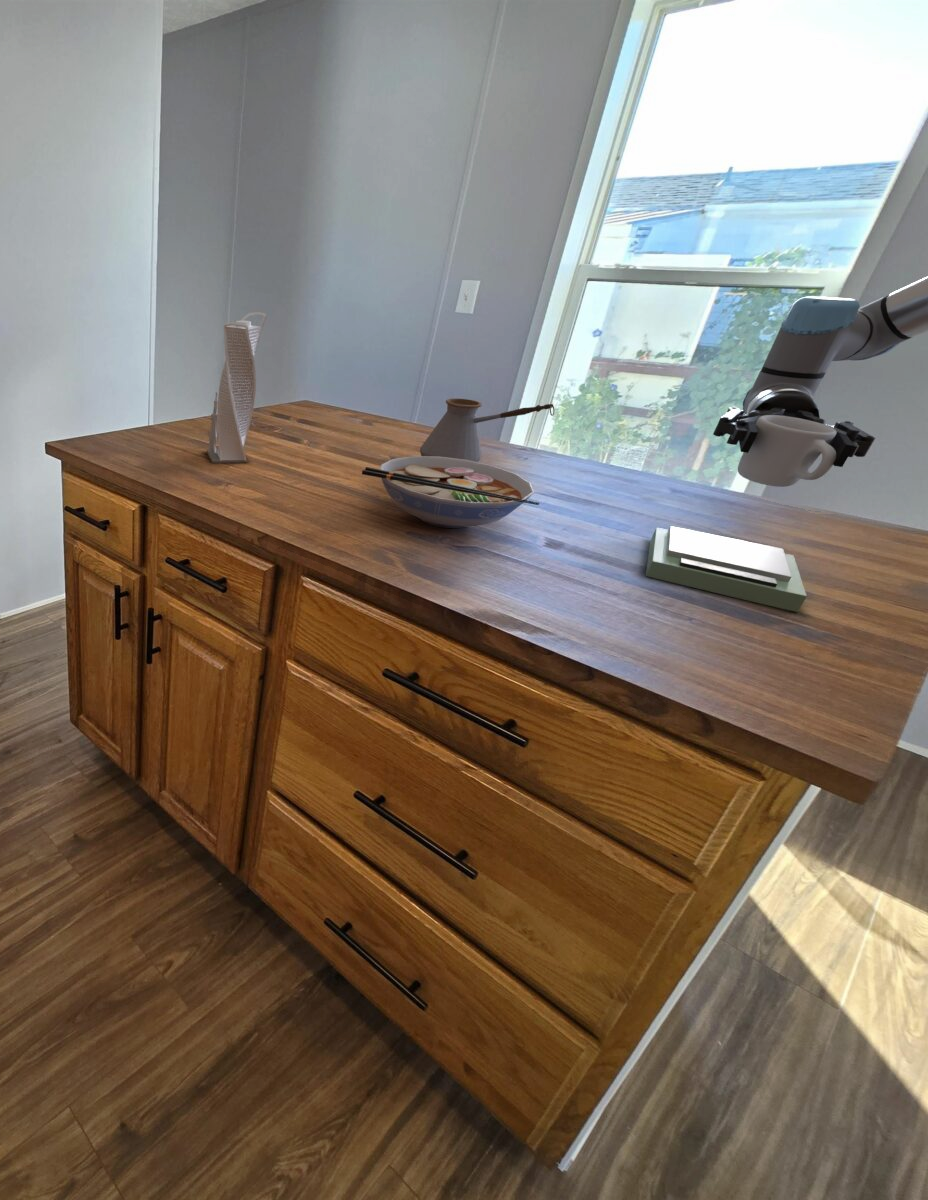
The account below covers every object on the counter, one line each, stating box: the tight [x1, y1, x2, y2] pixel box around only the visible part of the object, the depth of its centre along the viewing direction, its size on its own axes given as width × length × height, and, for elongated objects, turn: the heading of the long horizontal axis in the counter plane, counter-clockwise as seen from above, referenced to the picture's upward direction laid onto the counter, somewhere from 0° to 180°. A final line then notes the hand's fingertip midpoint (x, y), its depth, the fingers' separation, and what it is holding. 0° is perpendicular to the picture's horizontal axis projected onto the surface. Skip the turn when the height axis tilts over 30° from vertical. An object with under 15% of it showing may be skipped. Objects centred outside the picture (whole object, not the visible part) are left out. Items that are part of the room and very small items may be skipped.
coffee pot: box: [419, 398, 555, 462], centre depth 126 cm, size 21×12×15 cm, turn 46°
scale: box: [645, 525, 808, 613], centre depth 92 cm, size 16×15×3 cm
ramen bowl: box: [361, 455, 540, 529], centre depth 106 cm, size 25×23×8 cm
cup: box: [737, 415, 837, 488], centre depth 87 cm, size 11×8×8 cm
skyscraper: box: [206, 311, 268, 464], centre depth 129 cm, size 8×8×28 cm
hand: (795, 448), depth 83 cm, fingers closed on cup, 8 cm apart
